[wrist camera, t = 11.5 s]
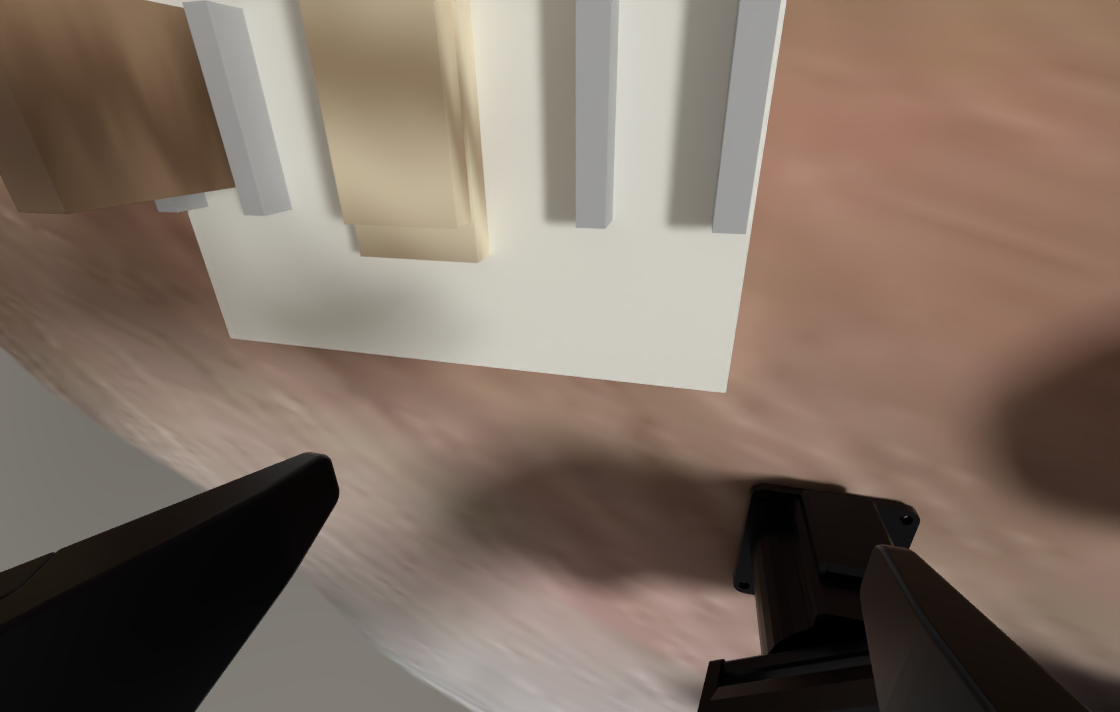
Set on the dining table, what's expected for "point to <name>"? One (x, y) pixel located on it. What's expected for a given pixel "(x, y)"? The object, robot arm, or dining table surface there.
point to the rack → (509, 191)
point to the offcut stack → (402, 124)
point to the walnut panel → (103, 106)
